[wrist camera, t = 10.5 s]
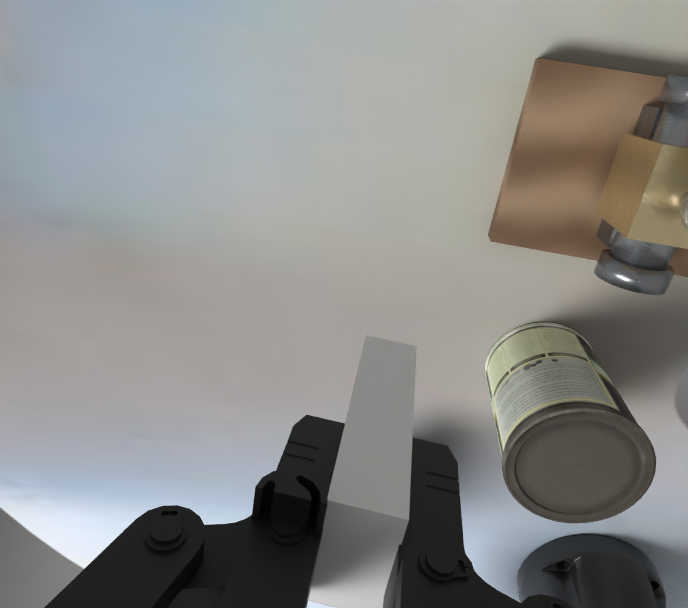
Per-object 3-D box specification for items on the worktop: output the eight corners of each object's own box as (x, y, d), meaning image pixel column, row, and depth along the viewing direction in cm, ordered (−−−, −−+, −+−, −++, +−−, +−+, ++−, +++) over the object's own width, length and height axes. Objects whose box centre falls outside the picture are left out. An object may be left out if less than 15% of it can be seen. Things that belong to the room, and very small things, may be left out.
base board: (724, 277, 44) (737, 285, 42) (488, 234, 45) (490, 241, 43) (810, 101, 38) (830, 102, 36) (535, 59, 39) (540, 58, 38)
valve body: (649, 269, 43) (709, 322, 33) (575, 256, 43) (614, 305, 34) (726, 86, 37) (824, 90, 28) (639, 73, 37) (707, 73, 28)
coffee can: (620, 353, 48) (691, 455, 35) (551, 429, 52) (591, 544, 40) (525, 301, 47) (562, 384, 34) (463, 382, 52) (474, 483, 39)
